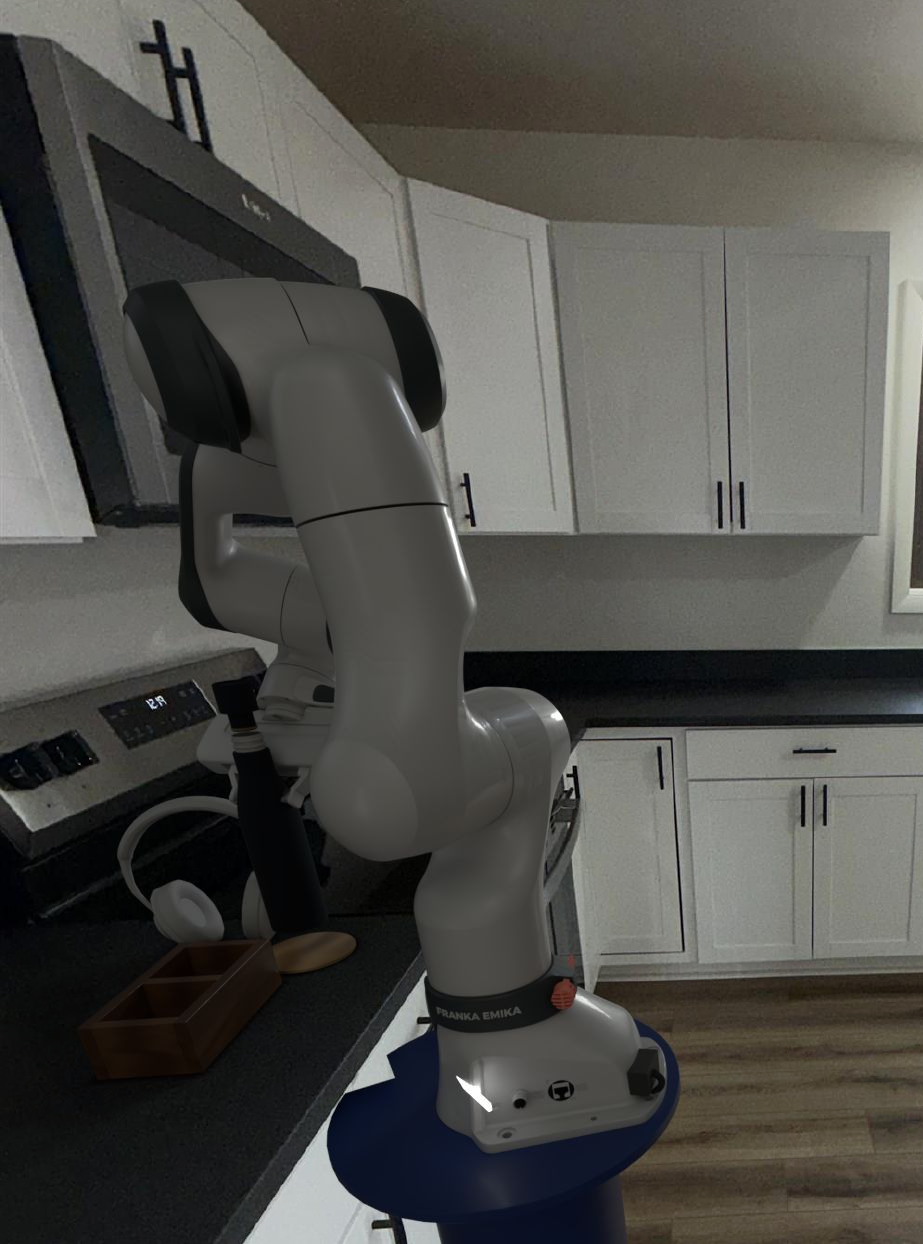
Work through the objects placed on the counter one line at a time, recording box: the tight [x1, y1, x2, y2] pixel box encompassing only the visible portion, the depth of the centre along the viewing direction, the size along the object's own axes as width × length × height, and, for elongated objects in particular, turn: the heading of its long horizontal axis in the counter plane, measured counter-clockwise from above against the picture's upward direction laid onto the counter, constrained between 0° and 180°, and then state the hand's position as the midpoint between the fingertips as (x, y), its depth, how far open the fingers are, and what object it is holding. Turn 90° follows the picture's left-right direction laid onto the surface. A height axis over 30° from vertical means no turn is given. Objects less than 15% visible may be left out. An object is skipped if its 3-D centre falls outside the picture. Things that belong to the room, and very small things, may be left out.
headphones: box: [116, 795, 277, 944], centre depth 108 cm, size 19×9×20 cm, turn 108°
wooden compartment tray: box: [76, 938, 283, 1081], centre depth 93 cm, size 10×19×6 cm, turn 7°
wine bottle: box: [210, 679, 329, 935], centre depth 102 cm, size 6×6×30 cm
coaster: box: [272, 931, 357, 975], centre depth 110 cm, size 11×11×1 cm
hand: (264, 804), depth 101 cm, fingers closed on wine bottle, 5 cm apart
